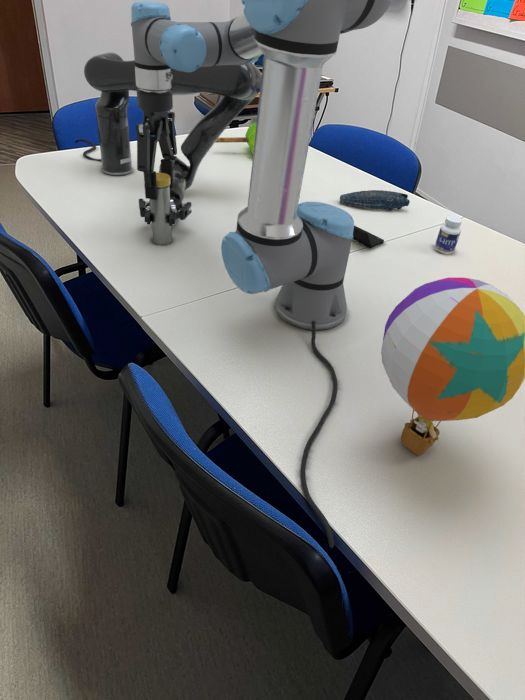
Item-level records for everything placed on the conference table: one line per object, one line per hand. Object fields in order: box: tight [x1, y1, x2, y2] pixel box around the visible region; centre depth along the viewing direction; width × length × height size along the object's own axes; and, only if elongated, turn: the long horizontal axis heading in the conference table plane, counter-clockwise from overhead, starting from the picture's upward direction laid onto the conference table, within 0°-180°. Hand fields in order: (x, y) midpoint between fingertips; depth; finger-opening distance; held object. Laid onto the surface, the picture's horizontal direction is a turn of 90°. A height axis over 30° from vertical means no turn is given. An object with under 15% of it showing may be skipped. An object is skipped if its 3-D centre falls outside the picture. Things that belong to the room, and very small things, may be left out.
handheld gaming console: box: [352, 224, 385, 250], centre depth 139 cm, size 12×7×10 cm
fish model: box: [339, 189, 411, 211], centre depth 158 cm, size 7×21×5 cm, turn 84°
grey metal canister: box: [149, 185, 173, 246], centre depth 128 cm, size 5×5×16 cm
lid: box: [156, 172, 170, 187], centre depth 123 cm, size 5×5×2 cm
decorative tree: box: [214, 121, 257, 154], centre depth 186 cm, size 18×10×30 cm
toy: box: [380, 277, 525, 456], centre depth 75 cm, size 20×20×30 cm
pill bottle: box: [434, 215, 463, 255], centre depth 137 cm, size 5×5×9 cm
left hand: (159, 221), depth 127 cm, fingers closed on grey metal canister, 4 cm apart
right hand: (159, 192), depth 125 cm, fingers open, 7 cm apart
